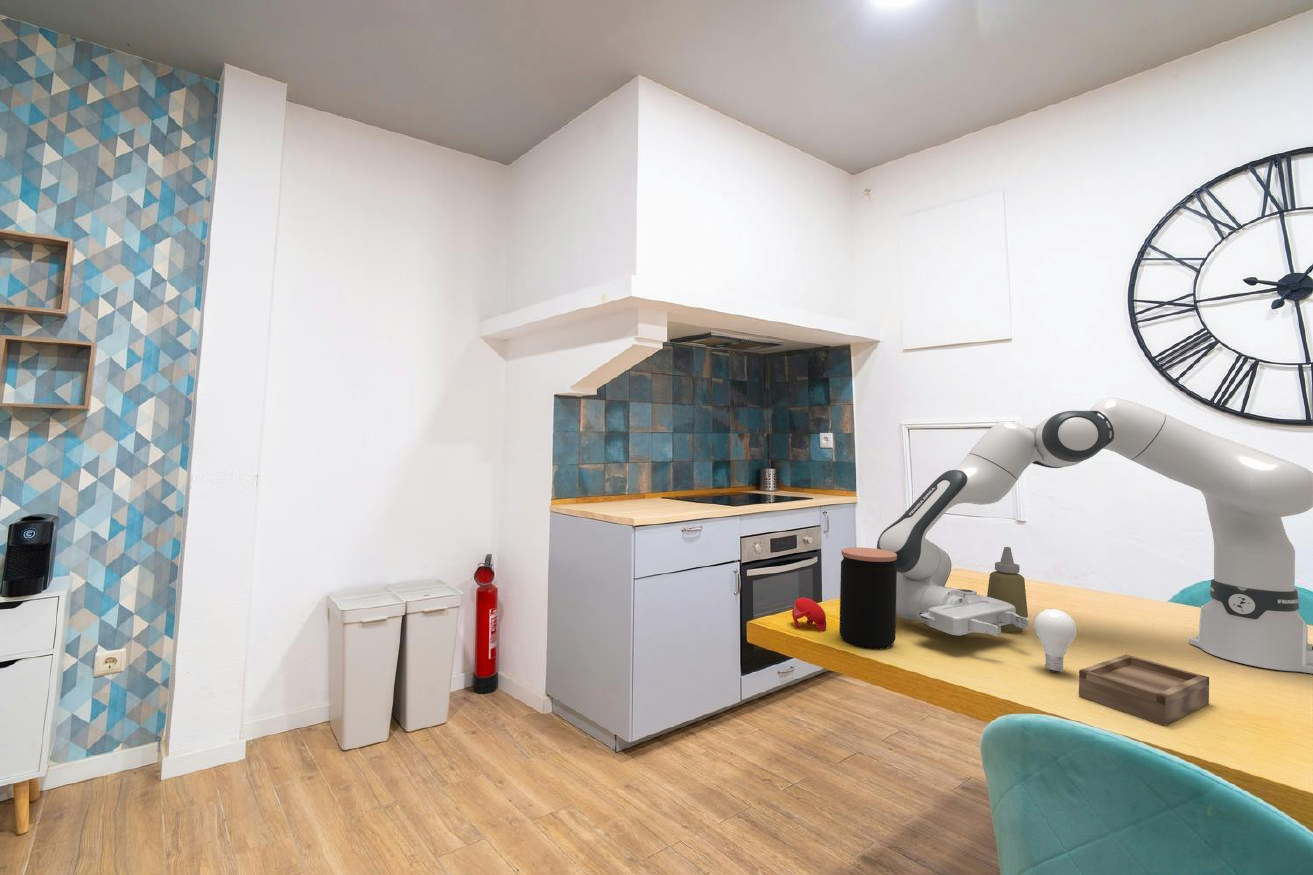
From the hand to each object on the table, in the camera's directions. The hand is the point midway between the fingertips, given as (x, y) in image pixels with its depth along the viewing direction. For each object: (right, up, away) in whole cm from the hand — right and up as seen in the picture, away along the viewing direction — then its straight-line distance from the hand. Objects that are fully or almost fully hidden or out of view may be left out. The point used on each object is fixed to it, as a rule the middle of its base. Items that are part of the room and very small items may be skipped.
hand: (1013, 627), depth 110 cm
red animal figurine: (-35, -5, +16) cm, 38 cm away
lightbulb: (+3, -6, -7) cm, 9 cm away
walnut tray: (+10, -6, -18) cm, 21 cm away
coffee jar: (-25, -5, +7) cm, 27 cm away
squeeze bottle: (+9, -6, +18) cm, 21 cm away
